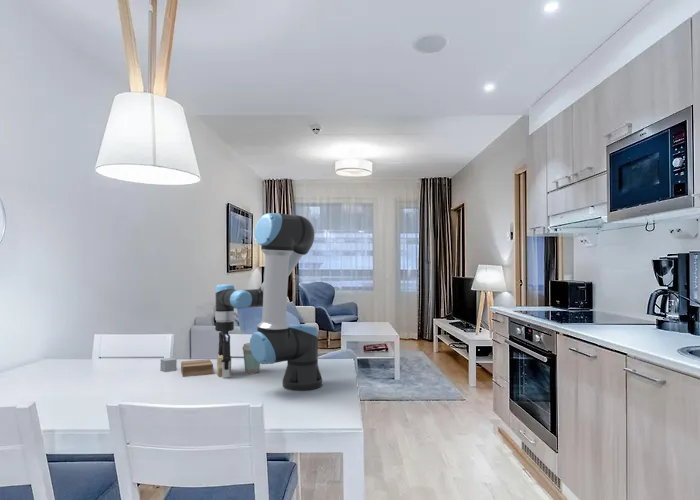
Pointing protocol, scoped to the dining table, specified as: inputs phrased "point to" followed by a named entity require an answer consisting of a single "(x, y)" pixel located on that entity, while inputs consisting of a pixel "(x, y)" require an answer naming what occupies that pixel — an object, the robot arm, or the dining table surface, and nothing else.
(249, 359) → the coffee cup
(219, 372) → the oak column block
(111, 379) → the dining table surface
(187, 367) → the walnut base slab
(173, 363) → the slate grey block
